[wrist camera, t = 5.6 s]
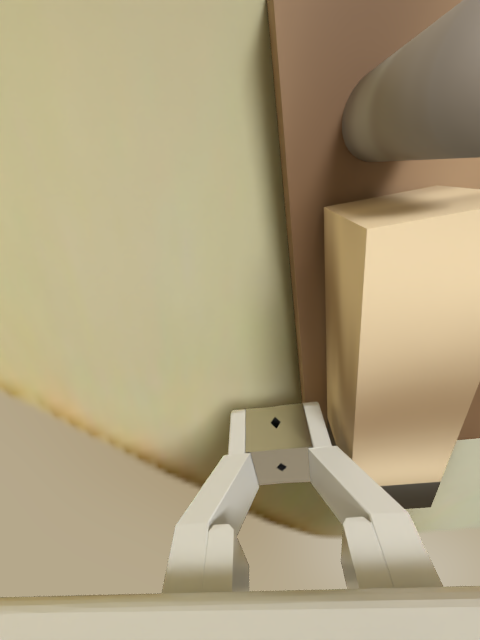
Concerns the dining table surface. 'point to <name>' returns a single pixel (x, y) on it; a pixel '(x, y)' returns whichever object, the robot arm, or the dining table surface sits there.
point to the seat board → (368, 128)
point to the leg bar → (402, 333)
